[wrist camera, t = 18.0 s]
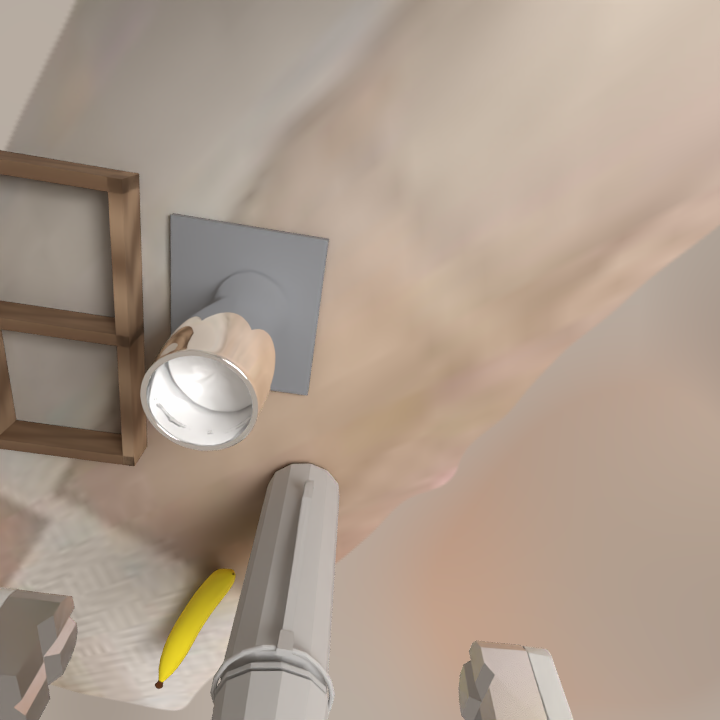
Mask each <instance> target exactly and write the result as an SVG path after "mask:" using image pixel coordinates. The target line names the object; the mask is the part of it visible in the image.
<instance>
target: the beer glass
mask: <svg viewBox="0 0 720 720" xmlns="http://www.w3.org/2000/svg"><path fill="white" fill-rule="evenodd" d="M288 316H289V305H288V300H287V297H286V295H285V293H284V291H283V290H282V288H281V287H280V286H279V285H278V284H277V283H276V282H275V281H274V280H272V279H271V278H269V277H267V276H265V275H263V274H260V273H256V272H241V273H237V274H234V275H232V276H230V277H228V278H227V279H226V280H224V281H223V282H222V283H221V285H220V286H219V288H218V289H217V291H216V294H215V297H214V301H213V303H212V304H210V305H208V306H206V307H205V308H203V309H201V310H200V311H198V312H196V313H195V314H193V315H192V316H191V317H189V318H188V319H187V320H185V321H184V322H183V323H182V324H181V325H180V326H179V327H178V328H177V329H176V330H175V331H174V333H173V334H172V335H171V336H170V337H169V339H168V340H167V341H166V343H165V344H164V346H163V347H162V349H161V350H160V352H159V353H158V355H157V357H156V358H155V360H154V362H153V364H152V365H151V367H150V368H149V369H148V371H147V372H146V374H145V376H144V378H143V381H142V384H141V390H140V397H141V403H142V407H143V410H144V412H145V414H146V416H147V418H148V420H149V421H150V423H151V424H152V425H153V426H154V427H155V429H156V430H157V431H158V432H160V433H161V434H162V435H163V436H164V437H166V438H167V439H169V440H170V441H172V442H174V443H176V444H178V445H181V446H183V447H186V448H190V449H194V450H200V451H215V450H221V449H225V448H228V447H231V446H233V445H235V444H237V443H239V442H240V441H242V440H243V439H244V438H245V437H246V436H247V435H248V434H249V433H250V432H251V430H252V429H253V427H254V425H255V423H256V420H257V417H258V415H259V414H260V412H261V410H262V408H263V406H264V404H265V402H266V399H267V397H268V394H269V392H270V389H271V387H272V383H273V380H274V376H275V372H276V363H277V338H276V337H277V336H278V335H279V334H280V332H281V331H282V330H283V329H284V327H285V325H286V323H287V320H288Z"/></svg>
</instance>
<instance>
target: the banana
mask: <svg viewBox="0 0 720 720" xmlns="http://www.w3.org/2000/svg"><path fill="white" fill-rule="evenodd" d="M234 581H235V572H234V570H232V569H218V570H216V571H214V572H213V573H212V574H211V575H210V576H209V577H208V578H207V579H206V580H205V582H204V583H203V584H202V585H201V586H200V587H199V589H198V590H197V591H196V593H195V594H194V595H193V597H192V598H191V600H190V601H189V602H188V604H187V605H186V607H185V608H184V610H183V612H182V613H181V615H180V616H179V618H178V620H177V621H176V623H175V625H174V627H173V628H172V630H171V632H170V634H169V636H168V638H167V641H166V643H165V646H164V649H163V652H162V655H161V659H160V664H159V680H158V682H157V683H156V684H155V687H156V688H158V689H160V688H162V687H163V682H164V681H165V680H166V679H167V678H168V677H169V676H170V675H171V674H173V672H174V671H175V670H176V669H177V668H178V666H179V665H180V664H181V662H182V661H183V659H184V658H185V656H186V655H187V653H188V651H189V650H190V648H191V646H192V644H193V642H194V641H195V639H196V637H197V635H198V633H199V632H200V630H201V628H202V627H203V625H204V623H205V622H206V620H207V619H208V617H209V616H210V614H211V613H212V612H213V610H214V609H215V608H216V606H217V605H218V604H219V602H220V601H221V600H222V599H223V597H224V596H225V595H226V594H227V592H228V591H229V590H230V588H231V587H232V585H233V583H234Z"/></svg>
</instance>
